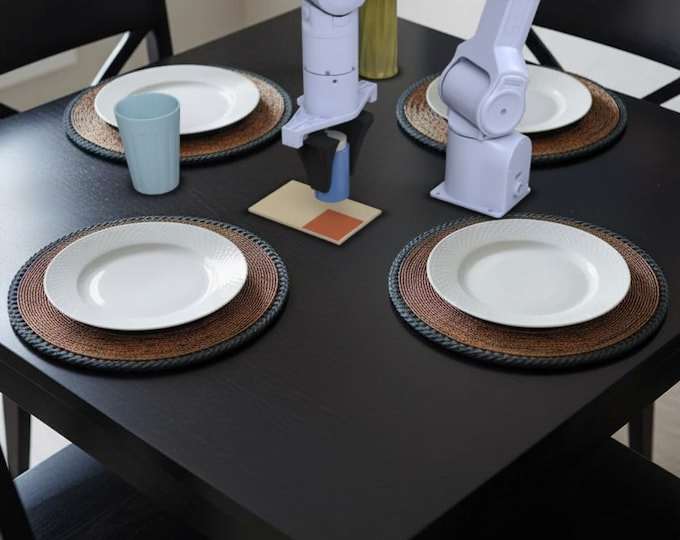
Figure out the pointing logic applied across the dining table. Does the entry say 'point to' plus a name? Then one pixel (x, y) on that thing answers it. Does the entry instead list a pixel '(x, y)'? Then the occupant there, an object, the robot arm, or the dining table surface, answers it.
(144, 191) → the cup
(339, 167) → the salt shaker
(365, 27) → the vase
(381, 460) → the dining table surface
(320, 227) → the place mat
